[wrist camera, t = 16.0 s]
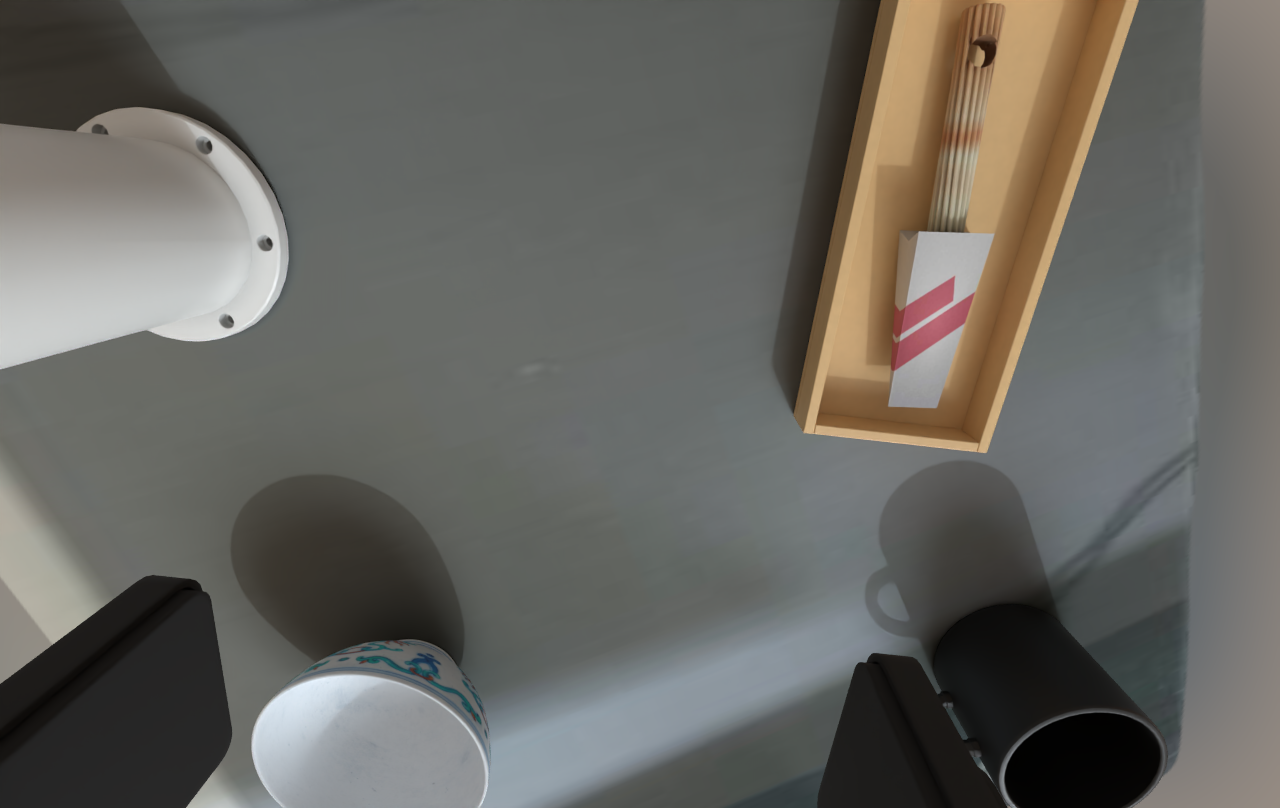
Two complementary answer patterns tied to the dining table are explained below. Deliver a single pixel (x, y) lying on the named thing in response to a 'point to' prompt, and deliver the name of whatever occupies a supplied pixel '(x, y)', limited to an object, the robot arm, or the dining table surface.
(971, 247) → the folding fan
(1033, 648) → the mug
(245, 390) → the dining table surface
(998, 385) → the brush tray
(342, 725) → the chinaware
